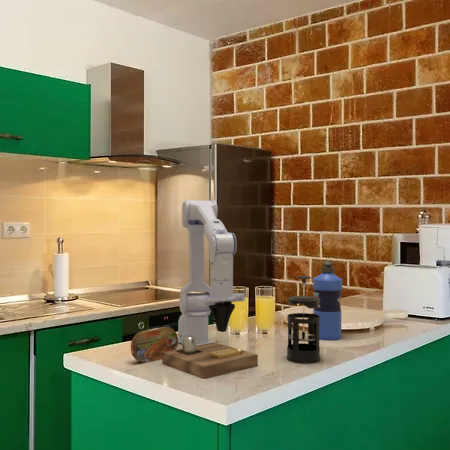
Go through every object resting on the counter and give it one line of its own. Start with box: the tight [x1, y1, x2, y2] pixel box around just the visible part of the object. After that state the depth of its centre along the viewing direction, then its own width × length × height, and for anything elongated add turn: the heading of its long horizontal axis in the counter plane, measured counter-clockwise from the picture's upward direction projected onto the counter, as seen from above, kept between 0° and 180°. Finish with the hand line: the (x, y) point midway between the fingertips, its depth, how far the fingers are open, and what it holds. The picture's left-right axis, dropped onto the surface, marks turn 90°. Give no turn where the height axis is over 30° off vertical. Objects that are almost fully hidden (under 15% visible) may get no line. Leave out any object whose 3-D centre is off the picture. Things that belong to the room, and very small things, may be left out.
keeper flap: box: [209, 346, 244, 359], centre depth 150 cm, size 4×8×1 cm, turn 131°
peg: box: [182, 335, 197, 355], centre depth 153 cm, size 4×4×7 cm
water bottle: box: [312, 259, 343, 341], centre depth 184 cm, size 9×9×25 cm
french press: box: [285, 275, 321, 365], centre depth 158 cm, size 12×9×23 cm
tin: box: [130, 326, 179, 364], centre depth 157 cm, size 15×3×8 cm, turn 136°
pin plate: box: [161, 341, 259, 379], centre depth 151 cm, size 18×18×3 cm
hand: (221, 331), depth 149 cm, fingers closed
